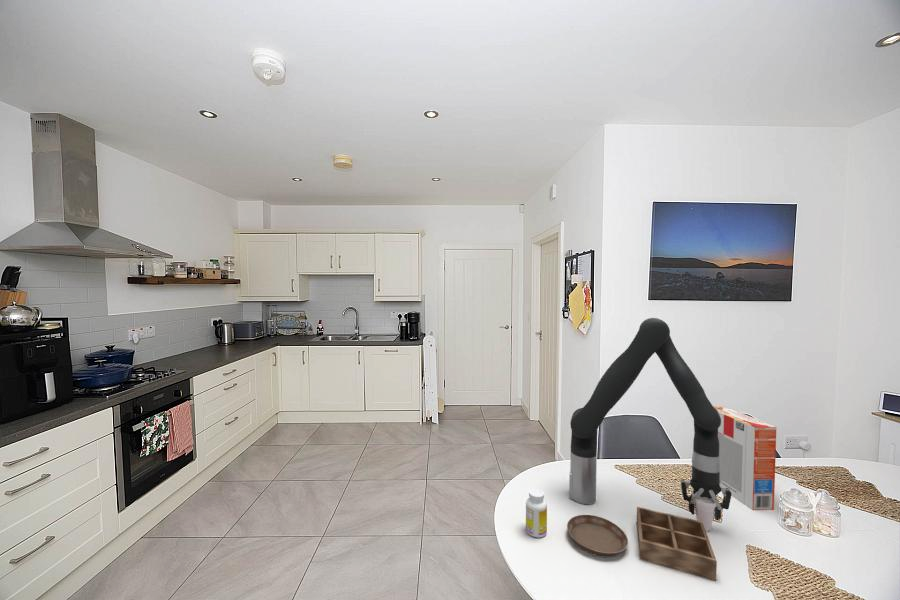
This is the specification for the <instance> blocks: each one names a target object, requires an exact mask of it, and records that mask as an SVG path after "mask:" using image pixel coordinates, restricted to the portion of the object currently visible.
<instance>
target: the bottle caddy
mask: <svg viewBox="0 0 900 600" xmlns="http://www.w3.org/2000/svg"><path fill="white" fill-rule="evenodd" d="M636 531H637V533H636V534H637V544H638V546H637V547H638V557H639V558H638V559H639V560H640V561H645V562H648V563H652V564H655V565H658V566H661V567H662V566H663V567H665V568H669V569H673V570H676V571H680V572H684V573H686V574H691V575H694V576H697V577H701V578H704V579H708V580H711V581H716V582H717V566H718V565H717V562H718V561H717V559H716V556H715V553H714V550H713V547H712V544H711V542H710V538H709V536H708V533H707V531H706V530H705V528H704V525H703V522H702V521H697V519H692V518H688V517H683V516H681V515H674V514H670V513H667V512H662V511H658V510H653V509H649V508H644V507H640V506H636Z"/></svg>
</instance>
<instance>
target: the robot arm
mask: <svg viewBox="0 0 900 600" xmlns="http://www.w3.org/2000/svg"><path fill="white" fill-rule="evenodd" d="M670 334H671V330H670V327H669V324H667V323H666V321H664V320H662V319H660V318H657V317H656V318H655V317H650V318H647V319H644V320H643V321H642V322H641V324H640V325H639V328H638V331H637V332H636V334H635V336H634V338H633V339H632V341H631V342H630V344H629V345H628V347H627V348H626V349H625V350H624V351H623V352H622V353H621V354H620V355H619V356H618V357H617V358H616V359H615V360H614V361H613V362H612V363H611V364H610V366H609V367H608V368H607V369H606V371H605V372H604V374H603V375H602V376H601V378H600V379H599V381H598V383H597V385H596V386H595V389H594V391H593V392H592V394H591V396H590V399H589V400H588V401H587V402H586V404H585V405H584V406H583V407H581V408H578V409H576V410H575V411H574V412H573V413H572V416H571V419H570V430H571V437H570V464H569V465H570V468H569V469H570V470H569V481H568V482H569V488H568V489H569V490H568V495H569V497H568V498H569V500H573V501H574V502H576V503H578V504H582V505H592V504H595V503H596V501H597V464H598V463H597V459H598V458H597V455H598V453H597V451H598V429H599V428H600V426H601V424H602V422H603V420H604V419H605V417H607V414H608V413H609V412H610V411H611V410H612V408H614V406H616V404H618V402H619V401H620V400H621V398H622V397H623V396H624V395H625V394H626V393H627V392H628V390H629V389H630V388H631V386H632V385H633V383H634V382H635V381H636V379H638V376H639V375H640V374H641V372H642V370H643V369H644V367H645V365H646V364H647V362H648V361H649V359H650V358H651V357H652V356H653V355H654V354H656V356H657V358H658V359H659V360H660V361H661V364H662V365H663V367H664V369H665V372H666V373H667V374H668V377H669V379H670V380H671V382H672V384H673V386H674V387H675V389H676V391H677V392H678V394H679V396H680V397H681V399H682V400H683V401H684V403H685V405H686V407H687V409H688V411H689V412H690V415H691V416H692V418H693V431H694V435H693V440H692V441H693V448H692V449H693V450H692V457H691V479H690V480H684V479H680V480H679V481H680V486H681V488H680V489H681V494H682V498H683V500H684V501H685V502H688V510H689V513H691V514H690V515H694V516H695V511H696V510H695V501H696V500H695V499H698V498H699V496H700V497H706V498H709V499H711V498H712V499H713V500H714V502H715V503H716V507H715V511H714V516H713V517H714V519H715V520H716V521H719V520H720V519H722V510H729V508H730V503H731V499H732V496H731V495H732V493H731V491H730V490H729V489H728V488H725V489H724V488H721V487H720V459H719V439H718V428H719V427H720V425H721V418H720V415H719V413H718V411H717V410H716V408H714V407H715V406H713V404H712V403H711V401H710V400H709V399H708V397H707V394H706V392H705V390H704V388H703V387H702V385H701V383H700V381H699V380H698V378H697V377H696V375H695V374H694V372H693V371H692V369H691V367H690V366H688V364H687V363H686V362H685V359H683V357H682V356H681V354H680V353H679V351H678V350H677V348H676V346H675V344H674V342H673V340H672V337H671V335H670ZM689 487H691V488H692V491H691V494H690V495H688V491H687V489H689ZM720 493H721V494H722V496H723V497H722V502H720V501H719V499H718V497H717V496H718V494H720Z"/></svg>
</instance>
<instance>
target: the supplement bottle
mask: <svg viewBox="0 0 900 600" xmlns="http://www.w3.org/2000/svg"><path fill="white" fill-rule="evenodd" d="M544 498H545V493H544V491H543V490H541V489H537V488H533V489H530V490H529V491H528V498H527V499H526V501H525V531H526V533H527V534H528V535H529V536H530V537H532V538H533V537H534V538H544V537H545V536H546V535H547V533H548V532H547V531H548V508H547V507H548V503H547V501H546V500H545V499H544Z"/></svg>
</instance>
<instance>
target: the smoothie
mask: <svg viewBox="0 0 900 600" xmlns="http://www.w3.org/2000/svg"><path fill="white" fill-rule="evenodd" d="M695 500H696V501H695V502H694V504H695V510H694V511H695V516H696V520H697V521H702V522H703V525H704V528H705V530H706V532H711V531H712V527H713V526H712V525H713V523H714V522H713V521H714V517H715V516H714V515H715V507H716V503H715V502H714V500H713V499H712V498H711V499H709V498H706V497H700V496H699V498H698V499H695Z"/></svg>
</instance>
